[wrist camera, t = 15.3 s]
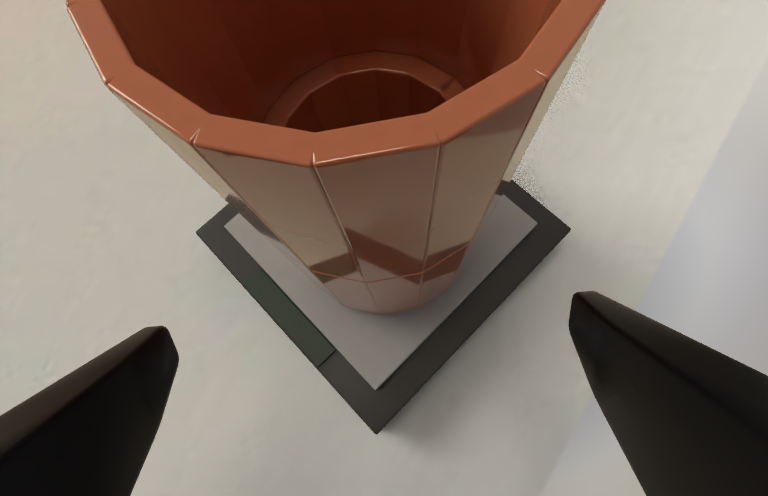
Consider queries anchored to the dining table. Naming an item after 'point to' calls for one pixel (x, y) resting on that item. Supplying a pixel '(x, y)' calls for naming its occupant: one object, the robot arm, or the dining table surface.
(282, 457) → the dining table surface
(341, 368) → the scale
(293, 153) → the orange faceted cup
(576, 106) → the dining table surface
